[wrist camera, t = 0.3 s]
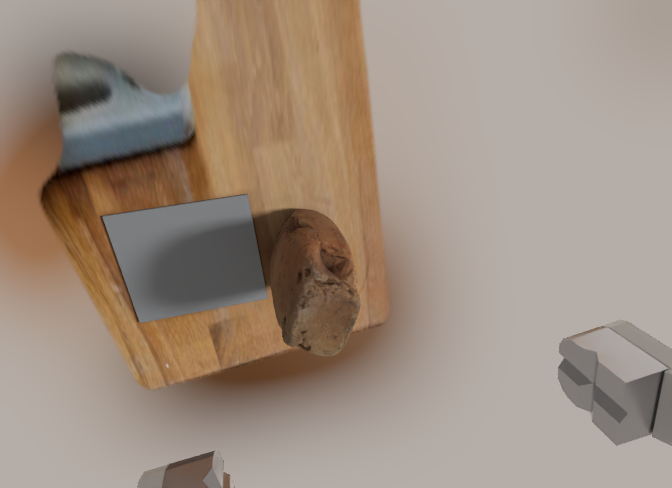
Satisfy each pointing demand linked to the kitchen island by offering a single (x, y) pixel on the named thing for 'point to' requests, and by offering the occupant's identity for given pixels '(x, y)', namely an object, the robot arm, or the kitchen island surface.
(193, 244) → the mat
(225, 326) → the kitchen island surface
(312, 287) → the block
